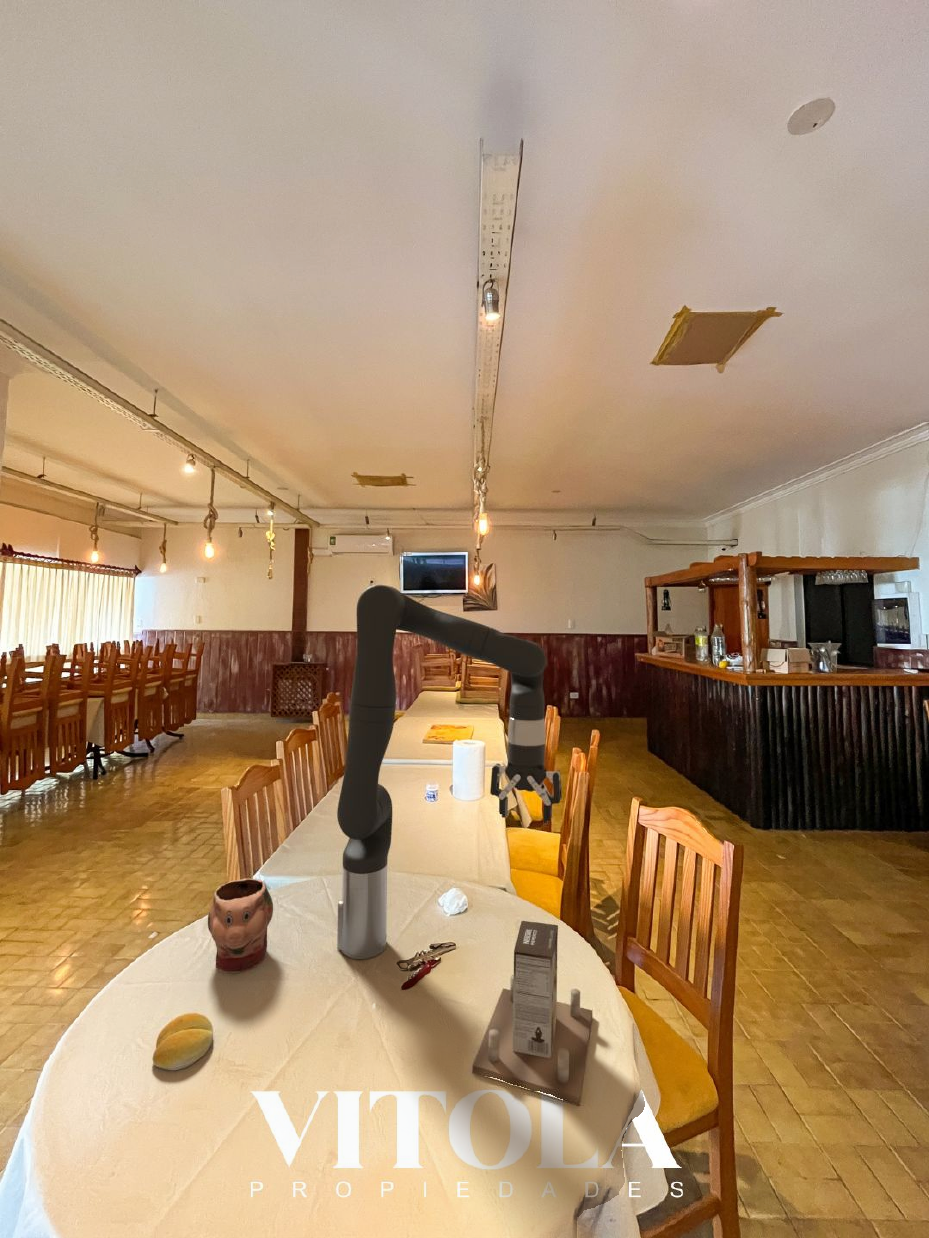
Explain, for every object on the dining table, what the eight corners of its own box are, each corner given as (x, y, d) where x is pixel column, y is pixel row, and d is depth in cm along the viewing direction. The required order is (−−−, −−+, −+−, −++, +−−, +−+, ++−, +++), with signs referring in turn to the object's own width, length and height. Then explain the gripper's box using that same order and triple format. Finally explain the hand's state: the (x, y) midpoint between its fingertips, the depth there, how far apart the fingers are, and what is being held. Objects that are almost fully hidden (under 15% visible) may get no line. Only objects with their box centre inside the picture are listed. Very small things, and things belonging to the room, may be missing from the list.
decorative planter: (208, 933, 116) (209, 869, 116) (269, 921, 121) (269, 859, 121) (205, 994, 98) (206, 917, 98) (276, 977, 103) (277, 904, 103)
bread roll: (149, 1080, 80) (149, 1053, 80) (160, 1036, 88) (160, 1011, 88) (210, 1064, 83) (210, 1038, 83) (215, 1023, 91) (215, 999, 91)
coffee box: (519, 1010, 93) (521, 918, 93) (557, 1017, 92) (558, 923, 92) (511, 1052, 84) (513, 949, 84) (552, 1060, 83) (554, 956, 83)
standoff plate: (472, 1072, 82) (473, 1038, 82) (503, 994, 99) (503, 966, 99) (579, 1105, 77) (580, 1069, 77) (592, 1017, 94) (592, 987, 94)
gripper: (487, 740, 108) (486, 821, 109) (558, 747, 104) (557, 831, 104) (497, 732, 116) (496, 808, 116) (564, 738, 111) (563, 817, 111)
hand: (525, 819), depth 110 cm, fingers open, 8 cm apart
